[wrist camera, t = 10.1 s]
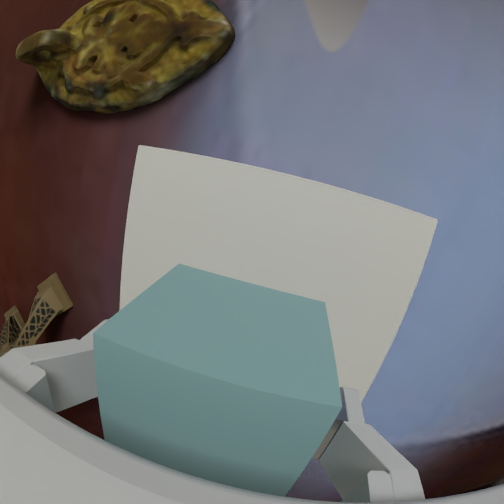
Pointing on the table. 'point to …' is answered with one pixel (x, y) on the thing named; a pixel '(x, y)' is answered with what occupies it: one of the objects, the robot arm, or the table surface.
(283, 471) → the cube
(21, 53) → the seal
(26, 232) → the table surface
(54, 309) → the eiffel tower
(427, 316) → the table surface
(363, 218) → the board
